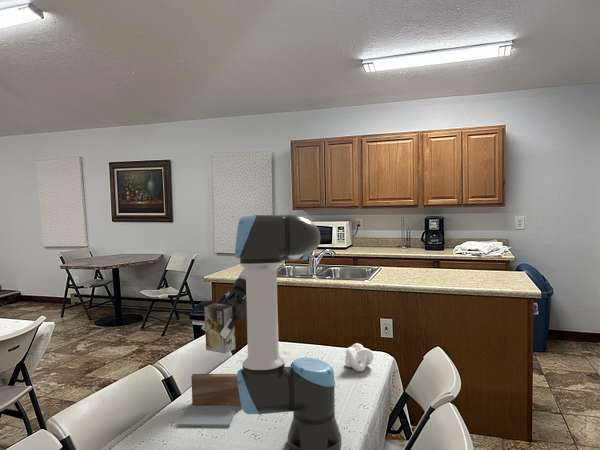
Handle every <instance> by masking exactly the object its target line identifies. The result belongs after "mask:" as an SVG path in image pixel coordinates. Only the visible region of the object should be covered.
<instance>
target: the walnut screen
mask: <svg viewBox="0 0 600 450" xmlns="http://www.w3.org/2000/svg"><path fill="white" fill-rule="evenodd" d="M191 403H192V406H241V401H240V395H239V388H238V378H237V373H192V375H191Z"/></svg>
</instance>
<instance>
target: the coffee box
mask: <svg viewBox="0 0 600 450" xmlns="http://www.w3.org/2000/svg"><path fill="white" fill-rule="evenodd" d="M234 305H235V304H232V305H228V304H219V303H215V302H214V303H211V304H209V305H206V306H205V305H204V324H205V331H204V332H205V333H204V335H205V351H208V352H214V353H220V354H225V355H226V354H227V353H229V352H231V351H234V350H235V349H236V336H235V335H236V334H235V331H236V330H235V326H234V327H233V329H232V330H231V331H230V332H229V334H228V336H227V337H226V339H225V338H223V337H222V336H221V335H220V333H221V331H222V330H223V328H224V327H225V325H226V323H227V322H228V320H229V319H230V318H231V317H232V316H233V310H234ZM231 319H232V318H231Z"/></svg>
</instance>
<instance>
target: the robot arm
mask: <svg viewBox="0 0 600 450" xmlns="http://www.w3.org/2000/svg"><path fill="white" fill-rule="evenodd" d="M235 237H236V238H235V247H234V257H235V258H236V259H239V262H240V263H239V264H240V265H241V267H242V268H243V269H242V270H241V272H240V273H239V275H238V278H236V280H235V281H234V283H233V284H232V290H231V291H228V290H225V291H224V292H223V293H222V294H221V296H220V297H219V298H218V299H217V300H216V301H215V302H214V303H219V304H228V305H234V310H233V316H232V317H231V318H232V319H231V318H230V319H229V320H228V322H227V323H226V325H225V327H224V328H223V330H222V331H221V333H220V335H221V336H222V337H223V338H225V339H226V337H227V336H228V334H229V332H230V331H231V330H232V329H233V327H235V325H236V324H237V323H239V322H240V323H242V322H243V321H244V319H245V316H246V329H247V330H246V331H247V332H246V333H247V334H246V335H247V337H246V338H247V358H246V359H245V360H244V361H243V362H242V364H241V365H242V368H240V369H239V370H237V373H236V374H237V378H238V388H239V395H240V401H241V405H240V406H241V409H242V411H243V412H244V414H246V415H259V416H261V415H265V414H266V415H267V414H277V413H278V414H279V413H291V412H292V414H293V418H292V421H291V423H290V427H289V429H288V430H289V431H288V433H287V447H288V450H341V448H342V433H341V431H340V427H339V425H338V423H337V419H336V414H335V413H336V411H335V409H336V408H335V407H336V404H335V403H336V401H335V385H336V381H335V380H336V379H335V371H334V369H333V366H331V364H329V363H328V362H326V361H324V360H321V359H319V358H313V357H300V358H296V359H294V360H293V364H292V363H291V364H292V367H291V366H285V360H284V359H283V358H282V357H281V356H280V355H279V350H280V349H279V347H280V346H279V315H278V312H279V311H278V307H279V306H278V277H277V276H278V274H277V270H278V268H279V267H280V266H281V265H282V264H283V262H284V261H285V262H286V261H287V262H288V261H291V262H292V261H294V262H296V261H297V262H298V261H299V262H300V261H307V260H309V257H310V254H311V253H314V252H315V251H316V250H317V249H318V247H319V245H320V243H321V233H320V229H319V228H318V226H317V225H316V224H315V223H314V222H313V221H311V220H310V219H308V218H306V217H303V216H300V215H297V214H284V215H283V214H279V215H278V214H277V215H276V214H275V215H274V214H273V215H272V214H269V215H268V214H267V215H266V214H265V215H263V214H261V215H260V214H259V215H258V214H254V215H246V216H242V217H240V219H239V220H238V224H237V231H236V236H235ZM201 330H203V331H204V332H205V323H203V325H202V326H201Z"/></svg>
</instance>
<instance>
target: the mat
mask: <svg viewBox="0 0 600 450" xmlns="http://www.w3.org/2000/svg"><path fill="white" fill-rule="evenodd" d="M236 411H237V406H199V405H192V406H188V407H187V408H186V410H185V412H184V413H183V415H182V416H181V418H180V419H179V421H178V422H177V427H178V426H203V427H202V428H229V427H230V426H231V424H232V421H233V418H234V417H235V413H236Z"/></svg>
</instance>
